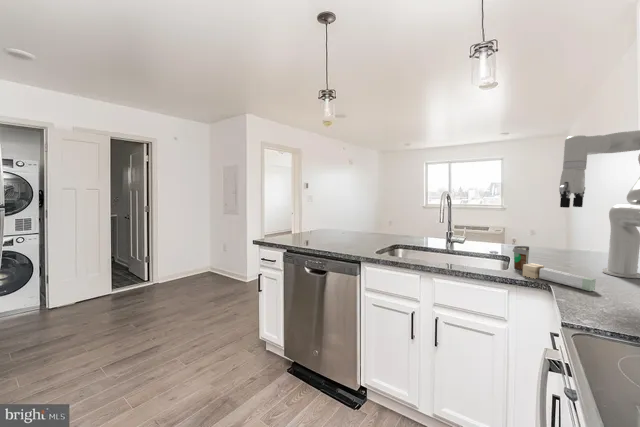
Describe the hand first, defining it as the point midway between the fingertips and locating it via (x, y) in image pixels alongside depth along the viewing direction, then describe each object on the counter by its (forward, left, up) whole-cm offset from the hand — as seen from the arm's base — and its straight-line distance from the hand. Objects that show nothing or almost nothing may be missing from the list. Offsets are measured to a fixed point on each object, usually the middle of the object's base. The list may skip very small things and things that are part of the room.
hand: (571, 207), depth 129 cm
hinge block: (+12, -6, -30) cm, 33 cm away
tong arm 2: (+11, +6, -30) cm, 32 cm away
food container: (+3, -18, -31) cm, 36 cm away
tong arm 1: (+13, +6, -30) cm, 33 cm away
